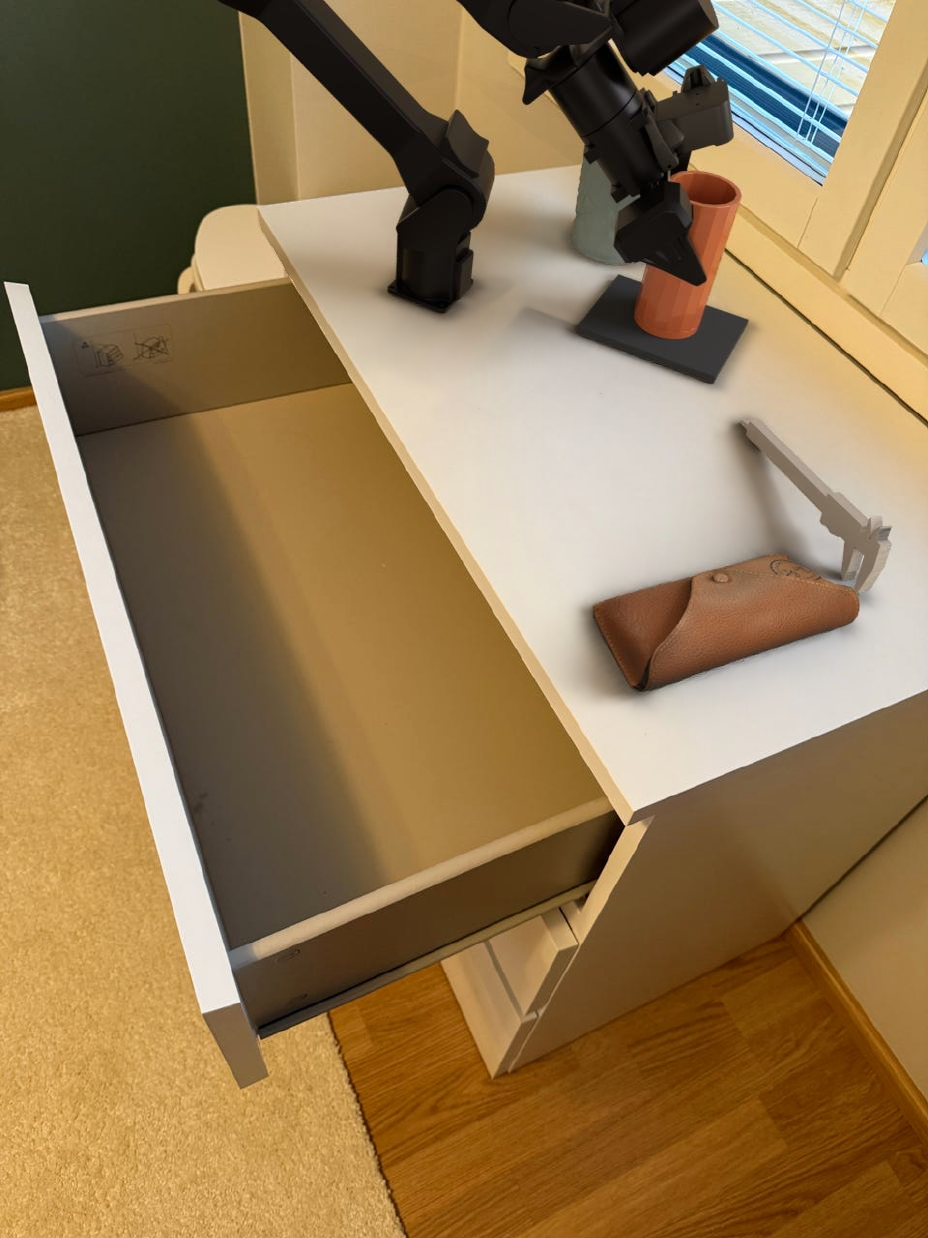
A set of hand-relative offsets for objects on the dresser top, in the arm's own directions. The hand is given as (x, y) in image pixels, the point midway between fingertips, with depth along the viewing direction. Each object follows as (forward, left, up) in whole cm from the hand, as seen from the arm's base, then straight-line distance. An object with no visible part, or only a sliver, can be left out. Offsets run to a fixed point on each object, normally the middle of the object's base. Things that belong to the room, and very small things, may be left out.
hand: (701, 255), depth 84 cm
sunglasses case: (+15, -34, -8) cm, 38 cm away
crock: (-1, 0, -7) cm, 7 cm away
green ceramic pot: (-11, +11, -8) cm, 18 cm away
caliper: (+17, -18, -8) cm, 26 cm away
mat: (-1, -1, -8) cm, 8 cm away
